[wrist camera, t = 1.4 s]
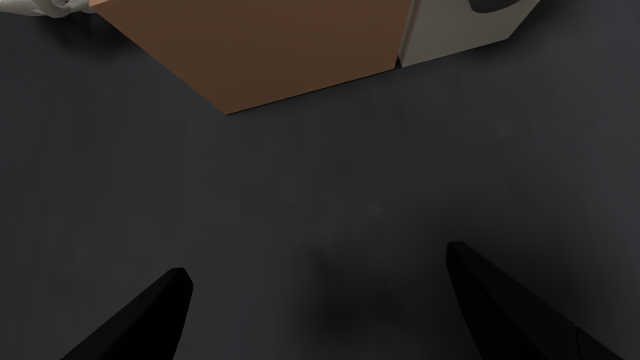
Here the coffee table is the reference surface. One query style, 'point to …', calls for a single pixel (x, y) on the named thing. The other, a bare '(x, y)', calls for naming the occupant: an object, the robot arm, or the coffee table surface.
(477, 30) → the beige rectangular box
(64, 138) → the coffee table surface
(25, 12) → the decorative ball
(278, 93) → the side door
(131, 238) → the coffee table surface
